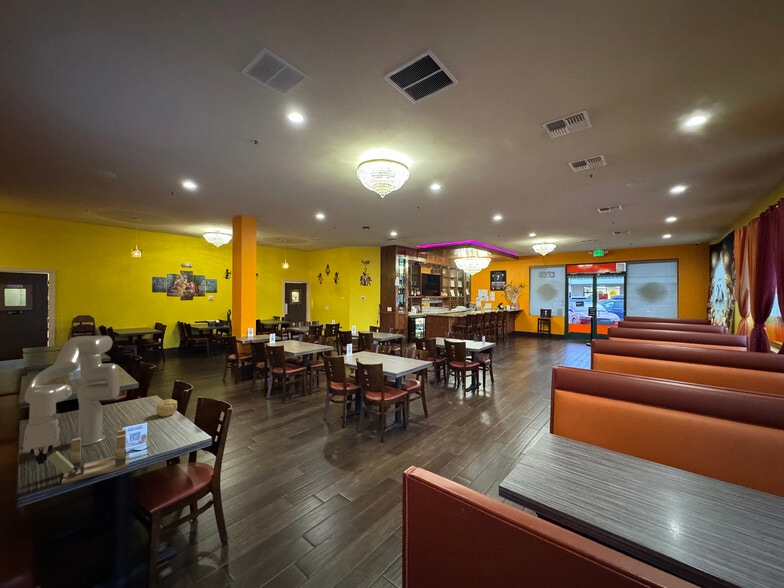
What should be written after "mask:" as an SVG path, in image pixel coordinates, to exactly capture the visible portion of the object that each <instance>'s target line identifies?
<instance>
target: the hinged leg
mask: <svg viewBox="0 0 784 588" xmlns="http://www.w3.org/2000/svg"><path fill="white" fill-rule="evenodd" d="M47 461H49V462H50V464H52V465H53V466H55V468H56V469H57V470H59V471H60V472H61V473H62V474H63V475H64V474H66V473H73V472H76V470H73V468H74V466H73V465H72V464H71V463H70V462H71V461H69V460H68V459H67V458H66V457H65V456H64V455H63V454H61V453H60V452H59V451H58V450H55V451H54V452H52V453H51V454H49V455H47Z"/></svg>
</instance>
